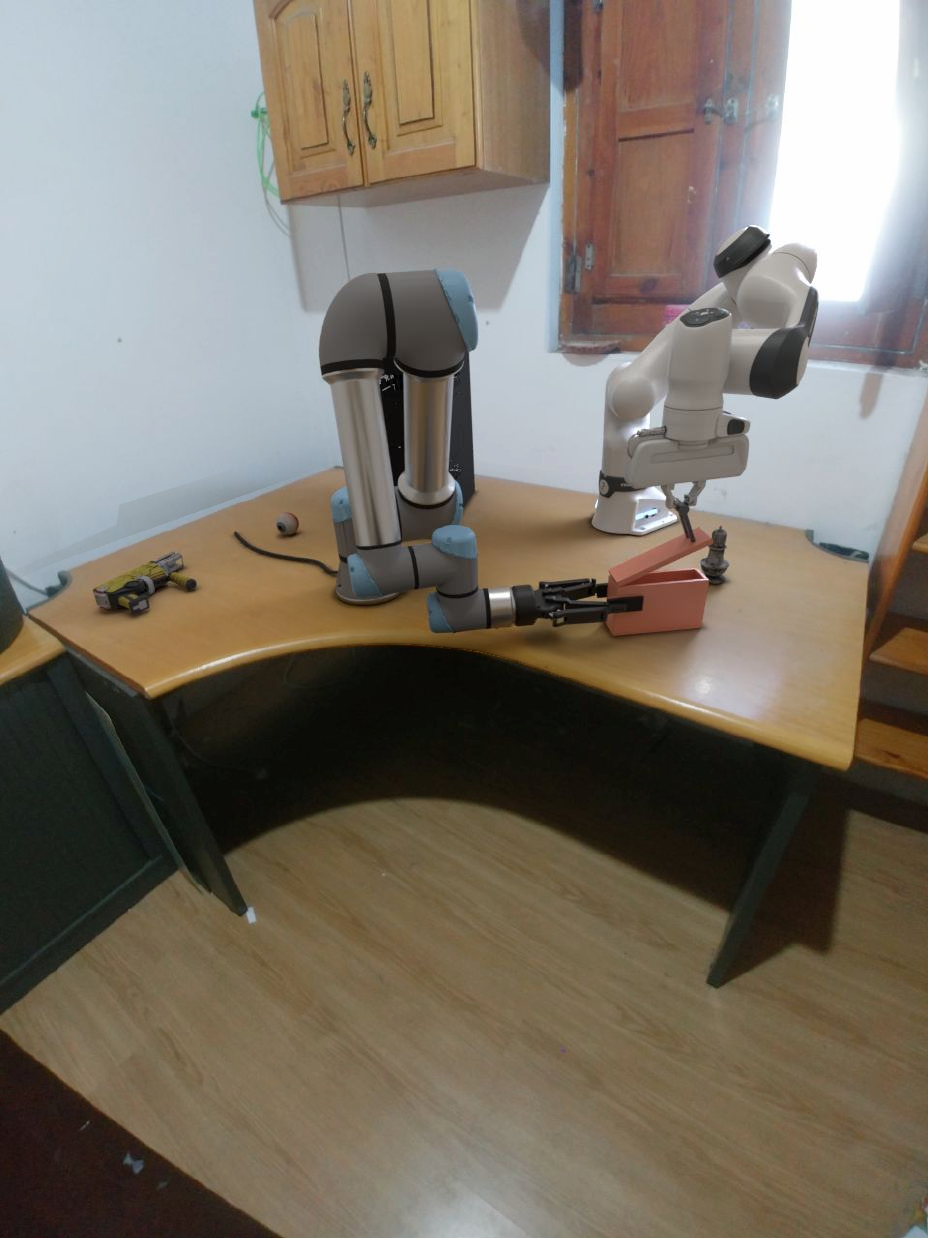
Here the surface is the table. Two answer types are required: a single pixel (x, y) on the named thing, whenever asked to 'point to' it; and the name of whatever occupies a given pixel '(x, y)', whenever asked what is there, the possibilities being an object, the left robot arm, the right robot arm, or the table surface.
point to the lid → (663, 551)
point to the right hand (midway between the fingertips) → (680, 506)
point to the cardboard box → (459, 425)
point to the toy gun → (141, 584)
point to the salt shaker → (716, 558)
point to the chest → (661, 602)
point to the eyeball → (287, 523)
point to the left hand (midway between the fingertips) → (636, 595)
